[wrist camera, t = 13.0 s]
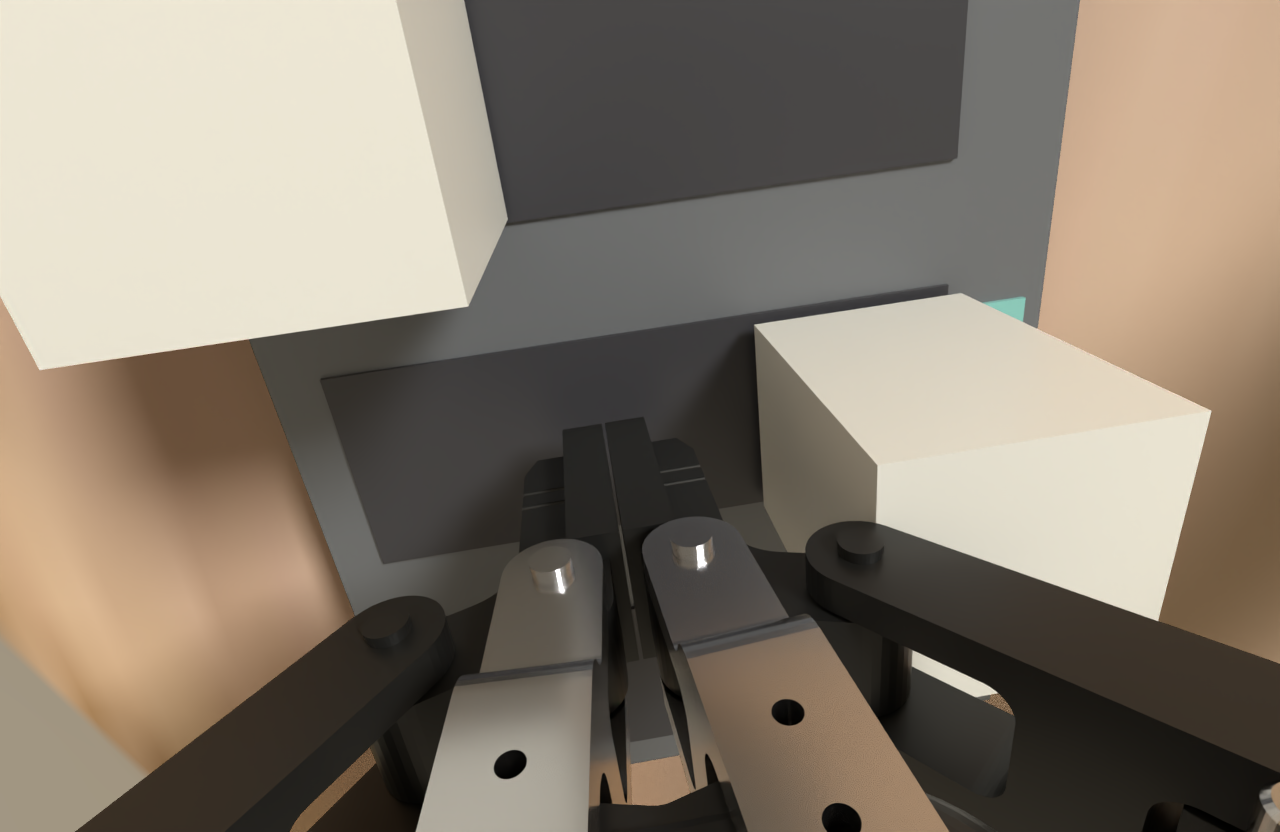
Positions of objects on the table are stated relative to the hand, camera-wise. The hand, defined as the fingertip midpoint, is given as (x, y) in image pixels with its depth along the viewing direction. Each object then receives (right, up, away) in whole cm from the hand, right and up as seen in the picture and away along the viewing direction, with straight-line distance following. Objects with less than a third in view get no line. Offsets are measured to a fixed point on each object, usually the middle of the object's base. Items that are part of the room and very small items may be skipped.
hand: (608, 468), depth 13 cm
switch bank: (+1, +1, +3) cm, 3 cm away
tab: (-4, +6, -2) cm, 7 cm away
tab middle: (+5, +1, +1) cm, 5 cm away
